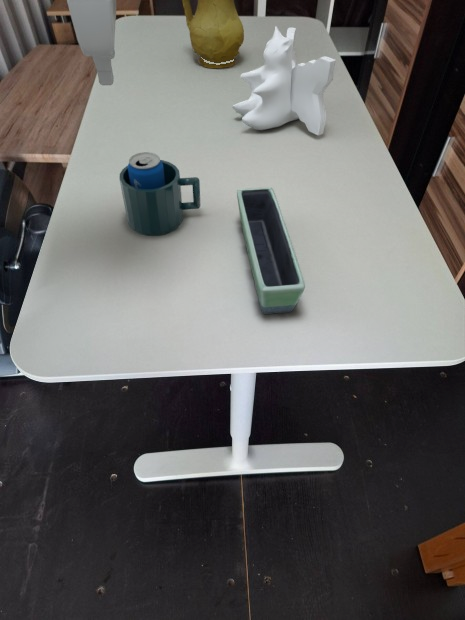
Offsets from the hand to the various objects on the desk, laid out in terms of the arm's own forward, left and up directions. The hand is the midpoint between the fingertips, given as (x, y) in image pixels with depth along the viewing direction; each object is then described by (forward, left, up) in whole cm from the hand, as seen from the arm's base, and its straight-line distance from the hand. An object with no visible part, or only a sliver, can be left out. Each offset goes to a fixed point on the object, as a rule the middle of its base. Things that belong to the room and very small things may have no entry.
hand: (108, 69), depth 61 cm
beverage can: (+3, +9, -31) cm, 32 cm away
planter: (+23, -8, -31) cm, 39 cm away
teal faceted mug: (+5, +8, -31) cm, 33 cm away
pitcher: (+26, +93, -31) cm, 102 cm away
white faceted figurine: (+36, +47, -31) cm, 67 cm away
